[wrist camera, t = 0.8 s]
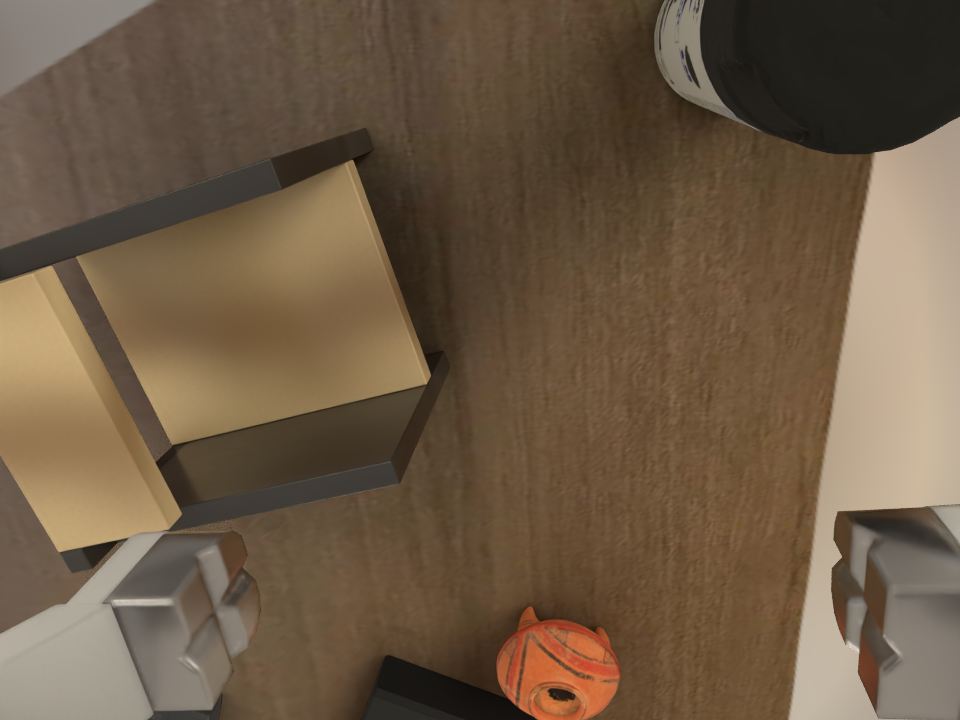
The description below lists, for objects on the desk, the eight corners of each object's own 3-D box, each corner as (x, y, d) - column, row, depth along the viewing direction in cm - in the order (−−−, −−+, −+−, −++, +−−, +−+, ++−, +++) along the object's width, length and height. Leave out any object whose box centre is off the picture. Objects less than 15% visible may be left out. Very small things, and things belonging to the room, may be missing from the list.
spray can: (737, -80, 33) (923, -246, 15) (828, 35, 35) (1104, 10, 16) (624, 34, 36) (666, 11, 17) (713, 137, 37) (841, 218, 19)
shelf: (117, 210, 43) (-105, 284, 29) (366, 127, 39) (246, 166, 25) (219, 424, 47) (70, 574, 34) (450, 368, 44) (388, 510, 30)
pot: (593, 572, 48) (606, 667, 42) (623, 640, 52) (639, 735, 46) (478, 598, 49) (476, 693, 44) (516, 662, 53) (519, 756, 48)
